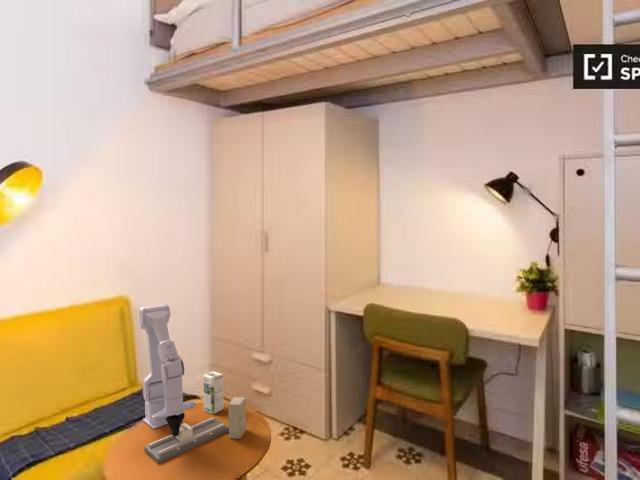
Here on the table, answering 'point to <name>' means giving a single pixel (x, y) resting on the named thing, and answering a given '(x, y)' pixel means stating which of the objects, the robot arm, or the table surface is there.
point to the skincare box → (237, 417)
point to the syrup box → (213, 392)
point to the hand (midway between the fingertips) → (175, 435)
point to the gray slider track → (173, 446)
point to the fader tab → (184, 432)
